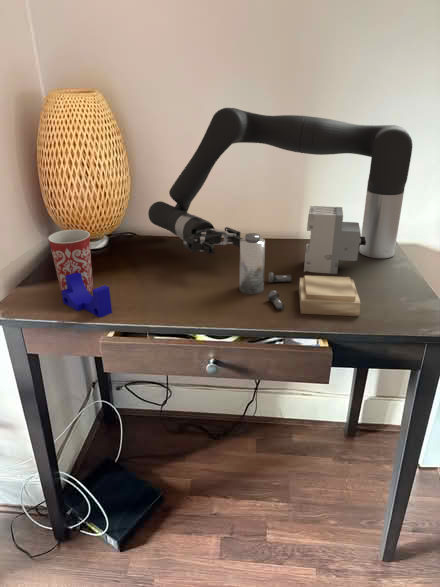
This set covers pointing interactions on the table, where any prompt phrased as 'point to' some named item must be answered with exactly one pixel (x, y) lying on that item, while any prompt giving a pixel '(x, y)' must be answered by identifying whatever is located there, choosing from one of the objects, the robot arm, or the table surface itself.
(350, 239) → the circuit breaker
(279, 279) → the bolt
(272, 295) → the bolt
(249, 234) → the silver metal bottle
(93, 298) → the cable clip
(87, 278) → the mug
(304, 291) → the stand
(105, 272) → the table surface
